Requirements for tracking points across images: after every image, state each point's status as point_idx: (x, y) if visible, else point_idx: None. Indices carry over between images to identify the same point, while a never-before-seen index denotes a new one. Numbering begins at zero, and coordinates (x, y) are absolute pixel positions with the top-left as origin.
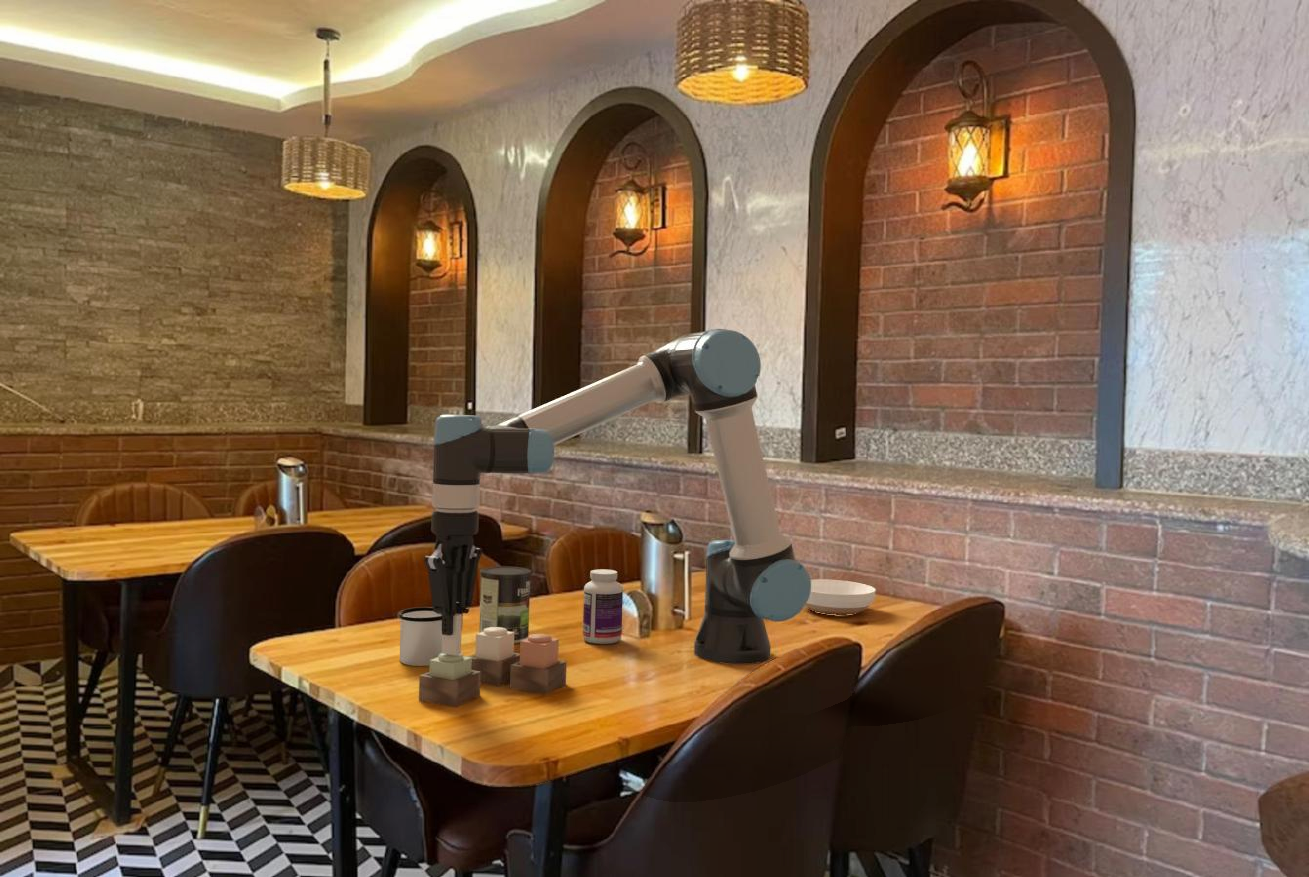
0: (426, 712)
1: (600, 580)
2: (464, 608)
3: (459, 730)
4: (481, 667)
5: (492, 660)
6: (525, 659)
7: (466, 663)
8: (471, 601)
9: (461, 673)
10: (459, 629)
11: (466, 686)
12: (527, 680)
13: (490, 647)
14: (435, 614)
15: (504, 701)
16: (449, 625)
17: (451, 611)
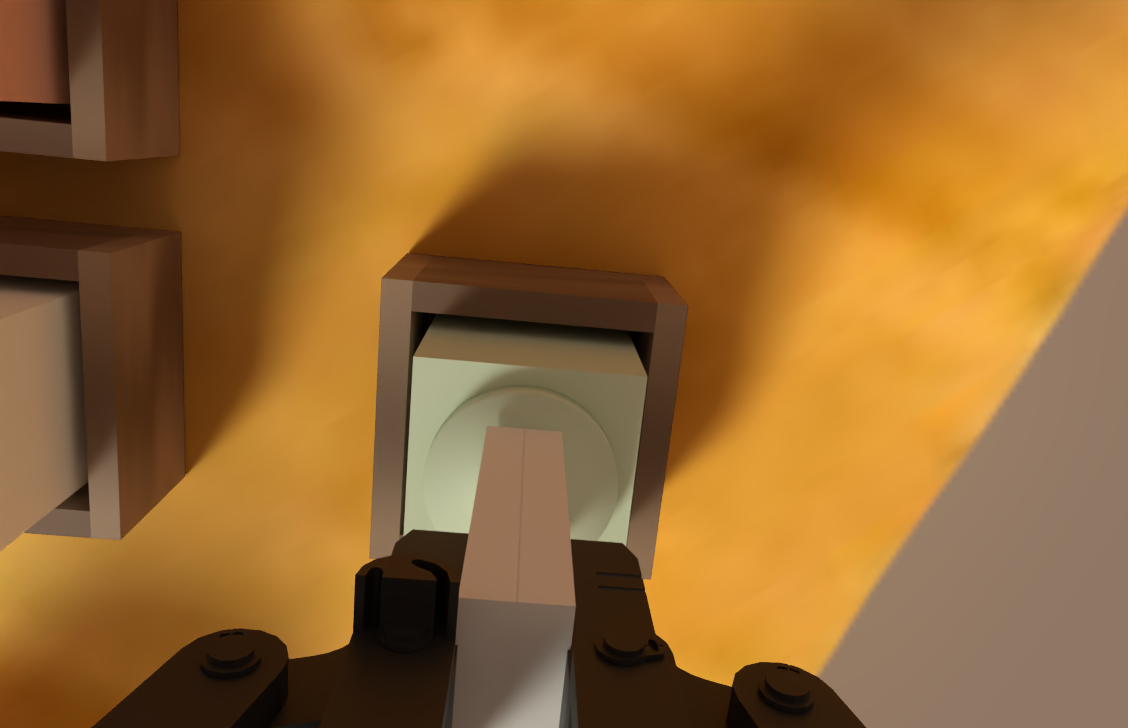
0: (804, 368)
1: None
2: (398, 628)
3: (1023, 43)
4: (139, 399)
5: (68, 349)
6: (22, 41)
7: (487, 353)
8: (175, 668)
9: (547, 345)
10: (512, 516)
11: (555, 282)
12: (144, 6)
13: (14, 398)
14: None
15: (438, 55)
16: (636, 595)
17: (676, 668)
